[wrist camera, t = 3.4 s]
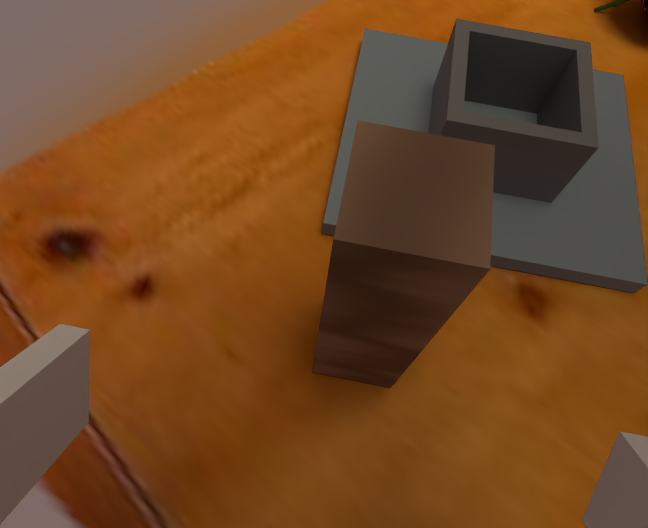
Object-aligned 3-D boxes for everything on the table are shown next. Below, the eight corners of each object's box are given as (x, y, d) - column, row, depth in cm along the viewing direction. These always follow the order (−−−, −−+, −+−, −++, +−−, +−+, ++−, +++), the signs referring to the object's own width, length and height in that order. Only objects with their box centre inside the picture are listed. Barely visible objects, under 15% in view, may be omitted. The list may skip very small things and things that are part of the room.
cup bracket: (613, 88, 35) (673, 9, 30) (633, 293, 28) (718, 240, 23) (362, 43, 36) (375, -43, 30) (321, 233, 29) (329, 167, 23)
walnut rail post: (399, 314, 27) (494, 145, 14) (390, 388, 25) (489, 269, 13) (326, 300, 27) (357, 120, 14) (312, 372, 25) (333, 239, 13)
